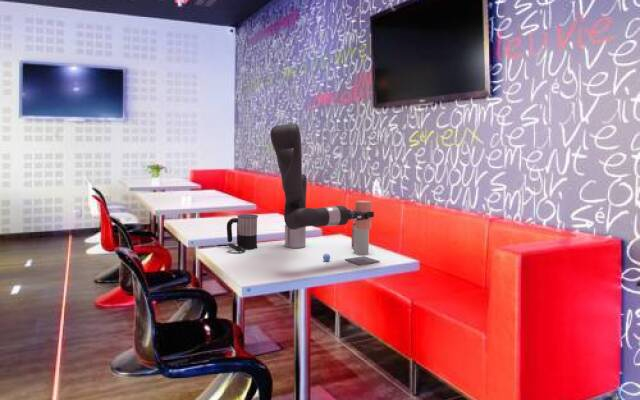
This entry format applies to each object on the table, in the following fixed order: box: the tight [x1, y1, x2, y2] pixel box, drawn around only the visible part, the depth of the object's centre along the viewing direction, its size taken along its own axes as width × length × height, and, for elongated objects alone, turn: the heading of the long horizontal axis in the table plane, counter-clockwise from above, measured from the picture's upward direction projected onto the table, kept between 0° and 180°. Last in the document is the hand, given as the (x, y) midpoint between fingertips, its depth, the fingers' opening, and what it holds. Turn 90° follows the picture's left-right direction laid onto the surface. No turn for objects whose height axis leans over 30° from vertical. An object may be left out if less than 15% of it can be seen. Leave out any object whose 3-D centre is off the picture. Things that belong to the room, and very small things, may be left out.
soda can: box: [351, 221, 355, 249], centre depth 227 cm, size 7×7×12 cm
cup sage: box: [353, 229, 370, 256], centre depth 216 cm, size 6×6×11 cm
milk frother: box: [226, 213, 259, 253], centre depth 221 cm, size 14×16×15 cm
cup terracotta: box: [354, 199, 373, 231], centre depth 200 cm, size 6×6×11 cm
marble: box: [322, 253, 331, 262], centre depth 202 cm, size 3×3×3 cm
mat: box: [344, 255, 381, 267], centre depth 202 cm, size 10×10×1 cm
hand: (367, 213), depth 201 cm, fingers closed on cup terracotta, 6 cm apart
